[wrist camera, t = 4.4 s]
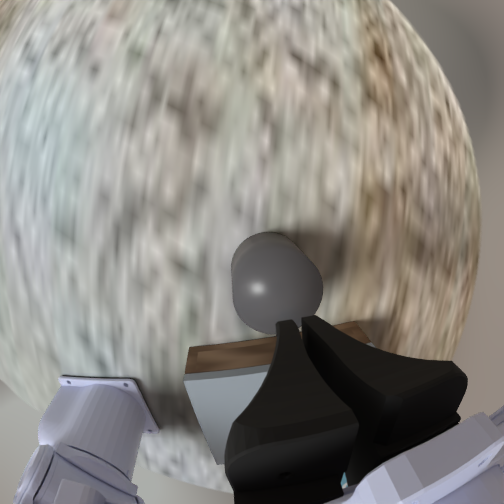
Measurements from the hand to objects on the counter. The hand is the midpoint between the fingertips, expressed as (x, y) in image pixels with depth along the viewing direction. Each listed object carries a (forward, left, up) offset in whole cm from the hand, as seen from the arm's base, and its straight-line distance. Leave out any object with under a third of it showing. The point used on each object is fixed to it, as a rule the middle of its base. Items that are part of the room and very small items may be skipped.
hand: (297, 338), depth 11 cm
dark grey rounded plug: (0, 0, -10) cm, 10 cm away
